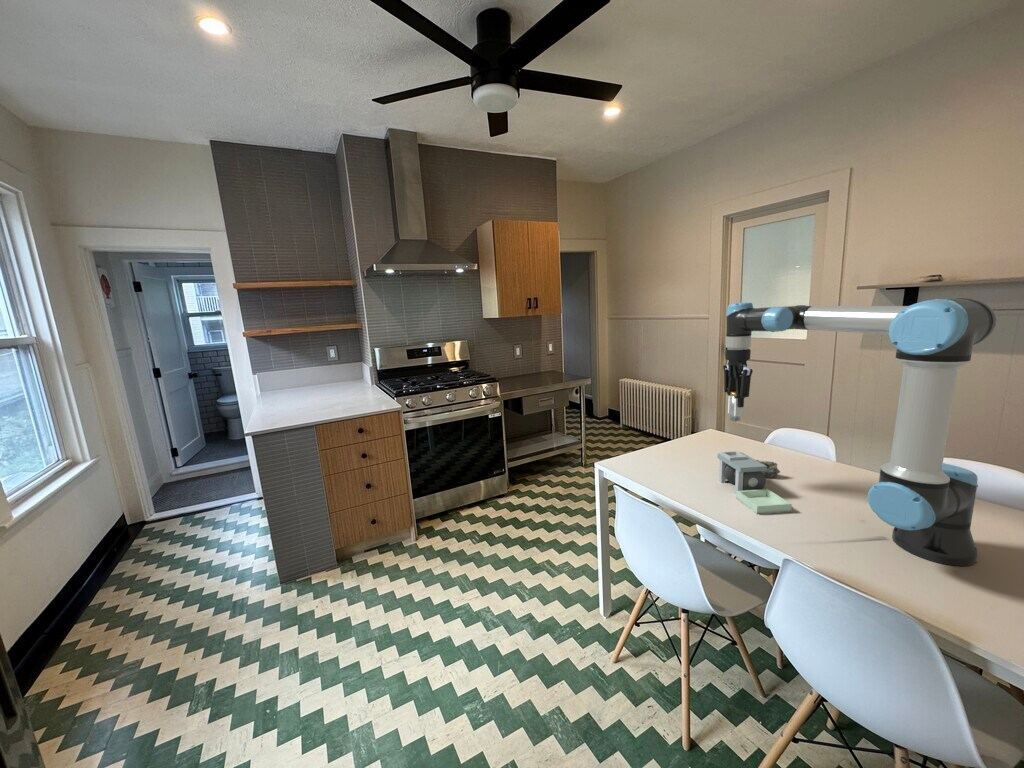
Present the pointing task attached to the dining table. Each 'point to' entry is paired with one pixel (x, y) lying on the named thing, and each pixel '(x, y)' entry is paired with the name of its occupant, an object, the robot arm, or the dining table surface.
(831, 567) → the dining table surface
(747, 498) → the tray
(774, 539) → the dining table surface
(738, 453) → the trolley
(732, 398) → the pin
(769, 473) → the rock
